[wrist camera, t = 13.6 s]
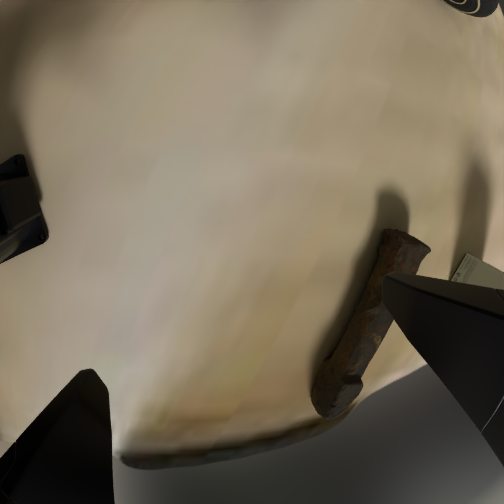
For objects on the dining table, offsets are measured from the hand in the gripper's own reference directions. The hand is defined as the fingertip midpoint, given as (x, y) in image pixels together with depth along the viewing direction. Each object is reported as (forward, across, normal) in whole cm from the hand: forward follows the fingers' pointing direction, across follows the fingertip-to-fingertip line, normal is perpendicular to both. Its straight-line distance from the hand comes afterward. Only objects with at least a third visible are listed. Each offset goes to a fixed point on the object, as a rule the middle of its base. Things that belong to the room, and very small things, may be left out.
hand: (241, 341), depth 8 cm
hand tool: (+12, -10, +13) cm, 20 cm away
